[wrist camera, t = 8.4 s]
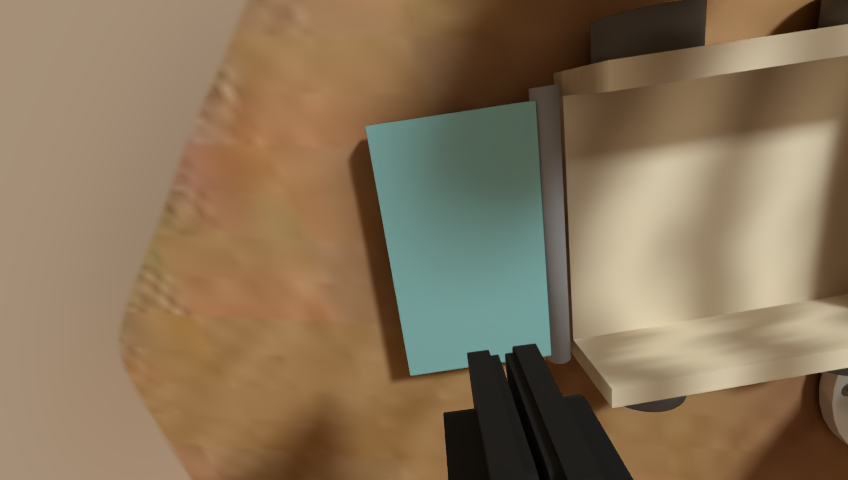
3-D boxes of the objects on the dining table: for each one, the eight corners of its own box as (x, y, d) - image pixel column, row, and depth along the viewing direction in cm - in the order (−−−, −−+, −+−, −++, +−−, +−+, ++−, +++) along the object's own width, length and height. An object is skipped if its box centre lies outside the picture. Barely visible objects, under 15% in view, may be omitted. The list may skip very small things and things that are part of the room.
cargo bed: (905, -19, 19) (1081, -64, 14) (844, 324, 24) (958, 377, 19) (551, 33, 18) (607, 6, 14) (567, 371, 23) (612, 437, 19)
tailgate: (562, 83, 17) (362, 113, 17) (574, 361, 21) (412, 385, 21) (552, 85, 18) (365, 113, 18) (565, 348, 22) (411, 371, 22)
